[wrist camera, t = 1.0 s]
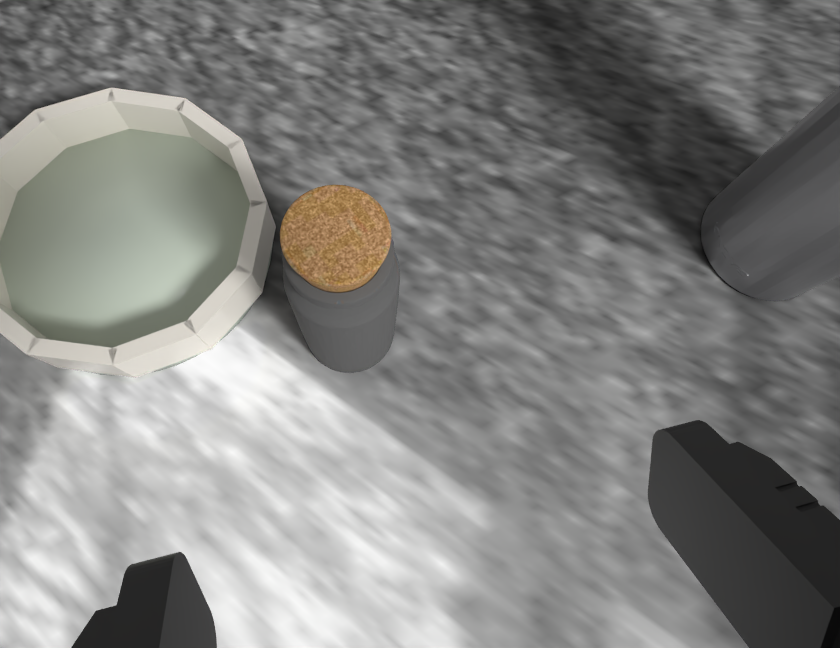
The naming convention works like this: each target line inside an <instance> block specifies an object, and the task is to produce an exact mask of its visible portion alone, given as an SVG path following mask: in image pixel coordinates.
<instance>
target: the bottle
mask: <svg viewBox="0 0 840 648" xmlns="http://www.w3.org/2000/svg"><path fill="white" fill-rule="evenodd" d="M280 243H281V248H282V261H283V266H284V267H283V283H284V289H285V292H286V295H287V297H288V300H289V303H290V305H291V308H292V310H293V312H294V315H295V317H296V320H297V322H298V324H299V327H300V329H301V331H302V333H303V336H304V338H305V340H306V342H307V345H308V346H309V348H310V350H311V352H312V353H313V355H314V356H315V357H316V358H317V359H318V361H320V362H321V363H322V364H323V365H325V366H327V367H329V368H330V369H333V370H336V371H339V372H348V373H353V372H359V371H363V370H366V369H368V368H370V367H372V366H374V365H375V364H377V363H378V362H379V361H380V360H381V359H382V358H383V357H384V356H385V354H386V353H387V352H388V350H389V348H390V346H391V343H392V340H393V336H394V330H395V322H396V314H397V305H398V295H399V284H400V269H399V263H398V259H397V256H396V254H395V250H394V243H393V240H392V237H391V227H390V223H389V220H388V217H387V215H386V213H385V211H384V209H383V208H382V207H381V206H380V204H379V203H378V202H377V201H376V200H375V199H374V198H373V197H371V196H370V195H368V194H367V193H365V192H364V191H361V190H359V189H356V188H354V187H349V186H345V185H327V186H322V187H318V188H315V189H313V190H310V191H308V192H306V193H305V194H303V195H302V196H300V197H299V198H298V199H297V200H296V201H295V202H294V203H293V204H292V205H291V206H290V207H289V209H288V210H287V212H286V214H285V216H284V218H283V221H282V224H281V229H280Z"/></svg>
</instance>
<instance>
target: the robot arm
mask: <svg viewBox="0 0 840 648" xmlns="http://www.w3.org/2000/svg"><path fill="white" fill-rule="evenodd" d="M701 240H702V244H703V248H704V252H705V254H706V256H707V258H708V260H709V262H710V264H711V265H712V267H713V268H714V270H715V271H716V272H717V274H718V275H719V276H720V277H721V278H722V279H723V280H724V281H725V282H726V283H728V284H729V285H730V286H732V287H733V288H735V289H736V290H738V291H739V292H741V293H743V294H746V295H748V296H750V297H753V298H757V299H761V300H765V301H782V300H788V299H792V298H794V297H797V296H799V295H801V294H803V293H805V292H807V291H809V290H811V289H814V288H816V287H818V286H820V285H822V284H824V283H826V282H828V281H830V280H832V279H834V278H837V277H839V276H840V86H839V87H838V88H837V89H836V90H835V91H834V92H832V93H831V94H830V95H829V96H828V97H827V98H826V99H825V100H823V101H822V102H821V103H820V104H819V105H818V106H817V107H816V108H815V109H813V110H812V111H811V112H810V113H809V114H808V115H807V116H806V117H804V118H803V119H802V120H801V121H800V122H799V123H798V124H797V125H795V126H794V127H793V128H792V129H791V130H790V131H789V132H788V133H787V134H785V135H784V136H783V137H782V138H781V139H780V140H779V141H778V142H776V143H775V144H774V145H773V146H772V147H771V148H770V149H769V150H768V151H766V152H765V153H764V154H763V155H762V156H761V157H760V158H759V159H757V160H756V161H755V162H754V163H753V164H752V165H751V166H750V167H748V168H747V169H746V170H745V171H744V172H743V173H742V174H740V175H739V176H738V177H737V178H736V179H735V180H734V181H733V182H732V183H730V184H729V185H728V186H727V187H726V188H725V189H724V190H723V191H722V192H720V193H719V194H718V195H717V196H716V197H715V198H714V199H713V200H712V202H711V203H710V204H709V205H708V207H707V209H706V211H705V213H704V215H703V219H702V224H701ZM648 501H649V505H650V509H651V512H652V515H653V517H654V519H655V521H656V523H657V525H658V527H659V528H660V530H661V531H662V533H663V534H664V535H665V537H666V538H667V539H668V541H669V542H670V543H671V545H672V546H673V547H674V549H675V550H676V551H677V553H678V554H679V555H680V557H681V558H682V559H683V561H684V562H685V563H686V565H687V566H688V567H689V568H690V570H691V571H692V572H693V574H694V575H695V576H696V578H697V579H698V580H699V582H700V583H701V584H702V586H703V587H704V588H705V590H706V591H707V592H708V594H709V595H710V596H711V598H712V599H713V600H714V602H715V603H716V604H717V606H718V607H719V608H720V610H721V611H722V612H723V614H724V615H725V616H726V618H727V619H728V620H729V622H730V623H731V624H732V626H733V627H734V628H735V630H736V631H737V632H738V634H739V635H740V636H741V638H742V639H743V640H744V642H745V643H746V644H747V646H748V647H749V648H840V520H839V519H838V518H837V517H836V516H835V515H834V514H832V513H831V512H830V511H829V510H828V509H827V508H826V507H825V506H820V505H819V504H818V500H817V499H816V498H815V497H813V496H812V495H811V494H810V493H809V492H808V491H807V490H806V489H805V488H803V487H802V486H800V487H799V486H798V485H797V481H796V480H795V479H793V478H792V477H791V476H790V475H789V474H788V473H787V472H786V471H784V470H783V469H782V468H781V467H780V466H779V465H778V464H777V463H776V462H774V461H773V460H772V459H771V458H769V457H767V456H765V455H763V454H761V453H759V452H757V451H755V450H754V449H752V448H750V447H748V446H746V445H744V444H742V443H740V442H736V443H732V444H728V443H727V442H726V441H725V440H724V439H723V438H722V437H721V436H720V435H719V434H718V433H717V432H716V431H715V430H714V429H712V428H711V427H710V426H709V425H708V424H707V423H705V422H703V421H700V420H696V421H692V422H688V423H684V424H681V425H677V426H673V427H669V428H665V429H661V430H658V431H656V432H655V434H654V436H653V442H652V453H651V464H650V475H649V486H648ZM72 648H217V644H216V632H215V626H214V621H213V617H212V614H211V611H210V609H209V606H208V604H207V602H206V600H205V598H204V595H203V593H202V591H201V589H200V587H199V585H198V582H197V580H196V578H195V576H194V574H193V572H192V569H191V567H190V565H189V563H188V561H187V559H186V557H185V555H184V554H183V553H181V552H178V553H174V554H170V555H166V556H162V557H158V558H155V559H151V560H147V561H143V562H139V563H135V564H131V565H130V566H129V567H128V568H127V569H126V572H125V574H124V578H123V582H122V586H121V590H120V594H119V598H118V602H117V605H116V606H113V607H109V608H105V609H101V610H98V611H96V612H95V613H94V615H93V616H92V618H91V619H90V621H89V622H88V624H87V625H86V627H85V628H84V630H83V631H82V633H81V634H80V635H79V637H78V638H77V640H76V641H75V643H74V644H73V646H72Z"/></svg>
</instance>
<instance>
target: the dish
mask: <svg viewBox="0 0 840 648" xmlns="http://www.w3.org/2000/svg"><path fill="white" fill-rule="evenodd" d="M275 229H276V225H275V222H274V220H273V217H272V214H271V211H270V209H269V206H268V203H267V200H266V198H265V195H264V193H263V190H262V188H261V185H260V183H259V180H258V178H257V175H256V173H255V170H254V168H253V165H252V163H251V160H250V158H249V155H248V153H247V150H246V148H245V145H244V143H243V140H242V139H241V138H240V137H238V136H237V135H236V134H234V133H233V132H232V131H230V130H229V129H227V128H226V127H225V126H223V125H222V124H220V123H219V122H218V121H216V120H215V119H214V118H212V117H211V116H209V115H208V114H207V113H205V112H204V111H202V110H201V109H200V108H198V107H197V106H196V105H194V104H193V103H191V102H190V101H189V100H187V99H186V98H180V97H173V96H166V95H159V94H152V93H145V92H138V91H131V90H125V89H118V88H108V89H105V90H101V91H98V92H94V93H91V94H87V95H84V96H80V97H77V98H73V99H70V100H67V101H63V102H60V103H56V104H53V105H49V106H46V107H42V108H39V109H36V110H34V111H33V112H32V113H31V114H29V115H28V116H27V117H26V118H25V119H24V120H22V121H21V122H20V123H19V124H18V125H17V126H15V127H14V128H13V129H12V130H11V131H10V132H8V133H7V134H6V135H5V136H4V137H3V138H1V139H0V333H1V334H2V335H3V336H5V337H6V338H7V339H8V340H10V341H11V342H12V343H13V344H14V345H16V346H17V347H18V348H19V349H20V350H22V351H23V352H24V353H25V354H27V355H29V356H32V357H34V358H36V359H39V360H41V361H43V362H46V363H48V364H50V365H53V366H55V367H57V368H64V369H72V370H80V371H86V372H91V373H96V374H103V375H118V376H127V377H134V378H137V377H139V376H142V375H145V374H147V373H150V372H155V371H159V370H163V369H166V368H169V367H172V366H175V365H178V364H180V363H183V362H185V361H187V360H189V359H192V358H194V357H196V356H197V355H199V354H201V353H203V352H206V351H208V350H211V349H212V348H213V347H214V346H215V345H216V344H217V343H218V342H219V341H220V340H221V339H222V338H224V337H225V336H226V335H227V334H228V333H229V332H230V331H231V330H232V329H233V328H234V327H235V326H236V325H237V324H238V323H239V322H240V321H241V320H242V319H243V317H244V316H245V315H246V314H247V312H248V311H249V310H250V308H251V307H252V305H253V303H254V302H255V301H256V299H257V298H258V297H259V296H260V295H261V294H262V292H263V287H264V283H265V279H266V277H267V273H268V269H269V266H270V262H271V255H272V247H273V239H274V234H275Z"/></svg>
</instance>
